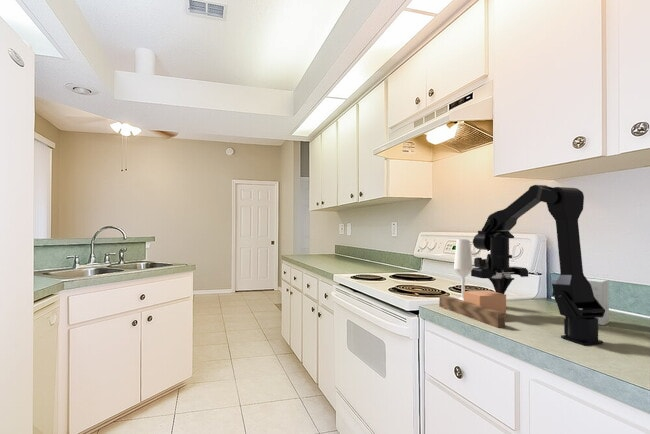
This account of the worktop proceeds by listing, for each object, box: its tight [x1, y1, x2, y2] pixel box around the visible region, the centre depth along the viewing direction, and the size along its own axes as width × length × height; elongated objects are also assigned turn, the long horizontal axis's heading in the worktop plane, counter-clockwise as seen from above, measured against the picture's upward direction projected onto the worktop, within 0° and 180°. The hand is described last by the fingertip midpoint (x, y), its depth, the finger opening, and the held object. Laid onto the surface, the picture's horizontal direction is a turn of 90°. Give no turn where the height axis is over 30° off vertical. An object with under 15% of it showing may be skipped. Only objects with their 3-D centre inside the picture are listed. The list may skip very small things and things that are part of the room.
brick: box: [464, 290, 507, 318], centre depth 118 cm, size 8×10×7 cm
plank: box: [438, 294, 506, 329], centre depth 116 cm, size 28×2×4 cm, turn 17°
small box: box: [579, 277, 610, 326], centre depth 111 cm, size 8×6×13 cm
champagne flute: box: [453, 238, 474, 301], centre depth 136 cm, size 7×7×24 cm
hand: (499, 298), depth 119 cm, fingers closed
